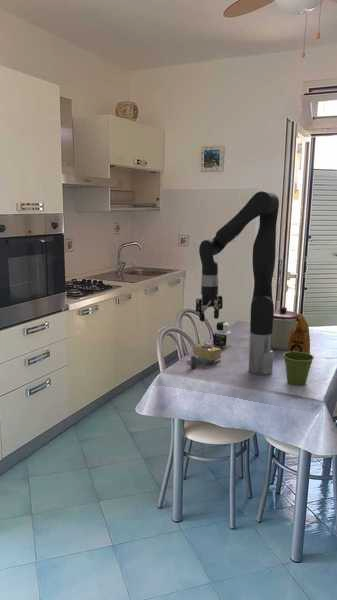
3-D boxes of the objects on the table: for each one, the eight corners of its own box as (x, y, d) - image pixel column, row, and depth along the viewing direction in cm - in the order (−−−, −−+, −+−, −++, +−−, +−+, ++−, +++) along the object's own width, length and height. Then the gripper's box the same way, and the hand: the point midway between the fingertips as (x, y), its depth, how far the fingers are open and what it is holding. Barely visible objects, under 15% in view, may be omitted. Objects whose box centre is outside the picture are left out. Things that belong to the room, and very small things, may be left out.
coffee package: (283, 365, 205) (286, 317, 201) (289, 358, 216) (292, 312, 212) (306, 369, 201) (309, 320, 197) (311, 361, 212) (314, 314, 207)
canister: (296, 343, 241) (298, 303, 237) (302, 353, 223) (305, 310, 219) (261, 341, 243) (262, 302, 239) (264, 352, 225) (266, 309, 221)
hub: (220, 361, 210) (220, 344, 209) (205, 365, 205) (206, 347, 203) (207, 356, 217) (207, 340, 216) (192, 360, 212) (192, 343, 210)
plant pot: (282, 387, 180) (284, 359, 178) (280, 376, 191) (281, 350, 189) (314, 389, 178) (316, 361, 176) (310, 378, 190) (311, 352, 187)
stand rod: (197, 368, 201) (197, 356, 200) (193, 369, 200) (193, 357, 199) (194, 366, 203) (194, 355, 202) (189, 367, 202) (190, 356, 201)
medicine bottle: (212, 346, 234) (213, 323, 232) (218, 343, 240) (218, 320, 238) (226, 348, 231) (226, 325, 229) (231, 344, 237) (231, 322, 235)
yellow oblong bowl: (220, 358, 208) (220, 349, 207) (210, 361, 204) (210, 351, 203) (203, 352, 217) (203, 343, 216) (193, 354, 214) (193, 345, 213)
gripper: (215, 282, 213) (215, 316, 216) (192, 285, 205) (191, 320, 208) (227, 284, 207) (226, 319, 210) (203, 287, 199) (202, 323, 202)
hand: (209, 319), depth 209 cm, fingers open, 8 cm apart
